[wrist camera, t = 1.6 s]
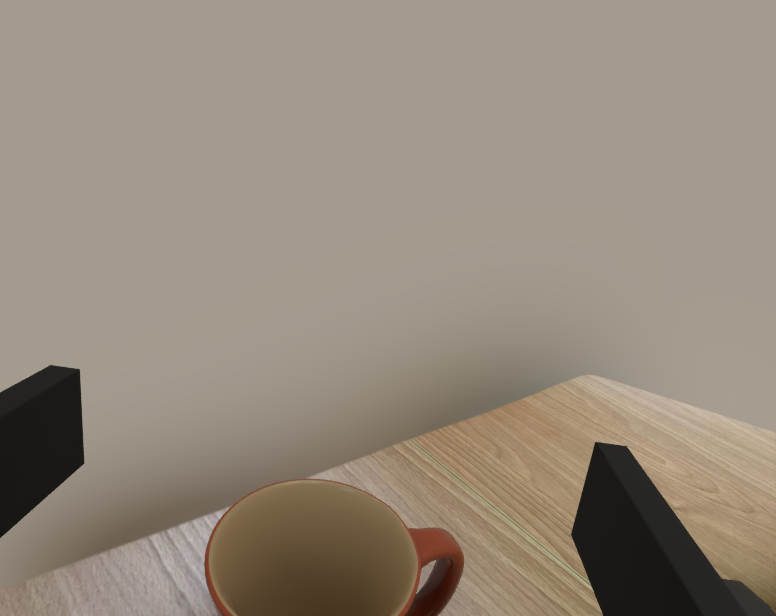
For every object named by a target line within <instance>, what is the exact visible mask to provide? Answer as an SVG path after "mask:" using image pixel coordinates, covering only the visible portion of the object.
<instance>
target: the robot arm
mask: <svg viewBox="0 0 776 616" xmlns="http://www.w3.org/2000/svg"><path fill="white" fill-rule="evenodd" d="M80 387H81V386H80V370H79V369H74V368H67V367H59V366H53V365H50V366H48V367H46V368H44V369H43V370H41V371H39V372H37V373H35V374H34V375H32V376H30V377H28V378H26V379H24V380H22V381H21V382H19V383H17V384H15V385H13V386H11V387H10V388H8V389H6V390H4V391H2V392H1V393H0V538H1V537H2V536H3V535H4V534H5V533H6V532H8V531H9V530H10V529H11V528H12V527H13V526H14V525H15V524H17V523H18V522H19V521H20V520H21V519H22V518H23V517H24V516H26V515H27V514H28V513H29V512H30V511H31V510H32V509H33V508H34V507H36V506H37V505H38V504H39V503H40V502H41V501H42V500H44V499H45V498H46V497H47V496H48V495H49V494H50V493H51V492H52V491H54V490H55V489H56V488H57V487H58V486H59V485H60V484H62V483H63V482H64V481H65V480H66V479H67V478H68V477H69V476H71V475H72V474H73V473H74V472H75V471H76V470H77V469H78V468H79V467H81V466H82V465H83V464H84V448H83V427H82V407H81V388H80ZM571 535H572V538H573V541H574V543H575V546H576V548H577V551H578V553H579V556H580V558H581V561H582V563H583V566H584V568H585V571H586V573H587V576H588V578H589V581H590V583H591V586H592V588H593V591H594V593H595V596H596V598H597V601H598V603H599V606H600V608H601V611H602V613H603V616H776V614H775V613H774V611H773V610H772V609H771V607H770V606H769V605H768V604H766V603H765V602H764V601H763V600H762V599H761V598H759V597H758V596H757V595H756V594H755V593H753V592H752V591H751V590H750V589H749V588H748V587H746V586H745V585H744V584H743V583H742V582H740V581H733V580H726V579H721V577H720V576H719V575H718V573H717V572H716V570H715V569H714V568H713V566H712V565H711V564H710V562H709V561H708V559H707V558H706V557H705V555H704V554H703V552H702V551H701V550H700V548H699V547H698V545H697V544H696V543H695V541H694V540H693V538H692V537H691V536H690V534H689V533H688V531H687V530H686V529H685V527H684V526H683V524H682V523H681V522H680V520H679V519H678V517H677V516H676V515H675V513H674V512H673V510H672V509H671V508H670V506H669V505H668V504H667V502H666V501H665V499H664V498H663V497H662V495H661V494H660V492H659V491H658V490H657V488H656V487H655V485H654V484H653V483H652V481H651V480H650V478H649V477H648V476H647V474H646V473H645V471H644V470H643V469H642V467H641V466H640V464H639V463H638V462H637V460H636V459H635V457H634V456H633V455H632V453H631V452H630V450H629V449H628V448H627V446H621V445H614V444H607V443H600V442H595V445H594V449H593V453H592V457H591V461H590V465H589V468H588V472H587V476H586V480H585V484H584V487H583V491H582V495H581V499H580V503H579V507H578V510H577V514H576V518H575V522H574V526H573V529H572V533H571Z"/></svg>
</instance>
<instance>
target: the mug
mask: <svg viewBox="0 0 776 616" xmlns="http://www.w3.org/2000/svg"><path fill="white" fill-rule="evenodd" d="M434 560H436V563H435V565H434V568H433V570H432V572H431V574H430V576H429V578H428V580H427V581H426V583H425V584H424V586H423V587H422V588H421V590H420V591H419V592H418V593H417V594H416V592H417V589H418V585H419V580H420V572H421V569H422V568H423V567H424V566H425V565H426V564H428V563H429V562H431V561H434ZM463 567H464V555H463V552H462V550H461V548H460V546H459V544H458V543H457V541H456V540H455V539H454V537H453V536H452V535H451V534H450V533H449V532H447V531H445V530H443V529H440V528H423V529H412V528H407V526H406V525H405V524H404V522H403V521H402V520H401V518H400V517H399V516H398V515H397V514H396V512H395V511H394V510H393V509H392V508H391V507H390V506H388V505H387V504H385V503H384V502H382V501H381V500H379V499H378V498H376V497H374V496H372V495H370V494H369V493H367V492H365V491H362V490H360V489H358V488H355V487H353V486H350V485H347V484H343V483H339V482H335V481H329V480H321V479H296V480H289V481H283V482H278V483H274V484H272V485H269V486H265V487H263V488H260V489H258V490H256V491H254V492H252V493H250V494H248V495H247V496H245V497H243V498H242V499H241V500H239V501H238V502H236V503H235V504H234V505H233V506H232V507H231V508H229V509H228V511H227V512H226V513H225V514H224V515H223V516H222V517H221V519H220V520H219V521H218V523H217V524H216V526H215V528H214V529H213V532H212V534H211V536H210V538H209V541H208V544H207V548H206V553H205V577H206V583H207V586H208V590H209V593H210V596H211V598H212V601H213V603H214V606H215V608H216V611H217V614H218V616H438V615H439V614H440V613H441V611H442V610H443V609H444V608H445V606H446V605H447V604H448V602H449V601H450V599H451V597H452V596H453V594H454V592H455V590H456V588H457V586H458V584H459V581H460V578H461V575H462V572H463Z"/></svg>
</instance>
